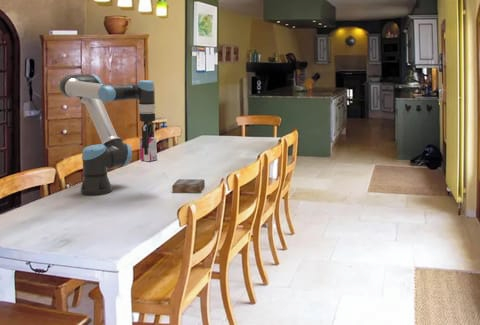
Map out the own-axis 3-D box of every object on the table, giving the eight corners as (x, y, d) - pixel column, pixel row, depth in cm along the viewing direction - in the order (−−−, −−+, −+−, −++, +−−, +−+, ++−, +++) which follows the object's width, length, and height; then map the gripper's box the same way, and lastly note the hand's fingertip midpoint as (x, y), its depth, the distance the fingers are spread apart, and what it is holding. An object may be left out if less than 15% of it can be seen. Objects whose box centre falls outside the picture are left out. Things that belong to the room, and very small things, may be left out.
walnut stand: (172, 192, 287) (172, 184, 286) (178, 186, 301) (177, 178, 300) (200, 192, 286) (200, 185, 285) (204, 186, 299) (204, 178, 299)
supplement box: (149, 159, 285) (148, 136, 283) (157, 160, 281) (156, 137, 279) (140, 161, 281) (139, 137, 278) (148, 162, 277) (147, 139, 275)
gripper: (149, 115, 266) (151, 163, 271) (159, 110, 286) (161, 155, 291) (133, 115, 267) (135, 163, 271) (145, 110, 287) (146, 155, 291)
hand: (149, 159), depth 281 cm, fingers closed on supplement box, 8 cm apart
